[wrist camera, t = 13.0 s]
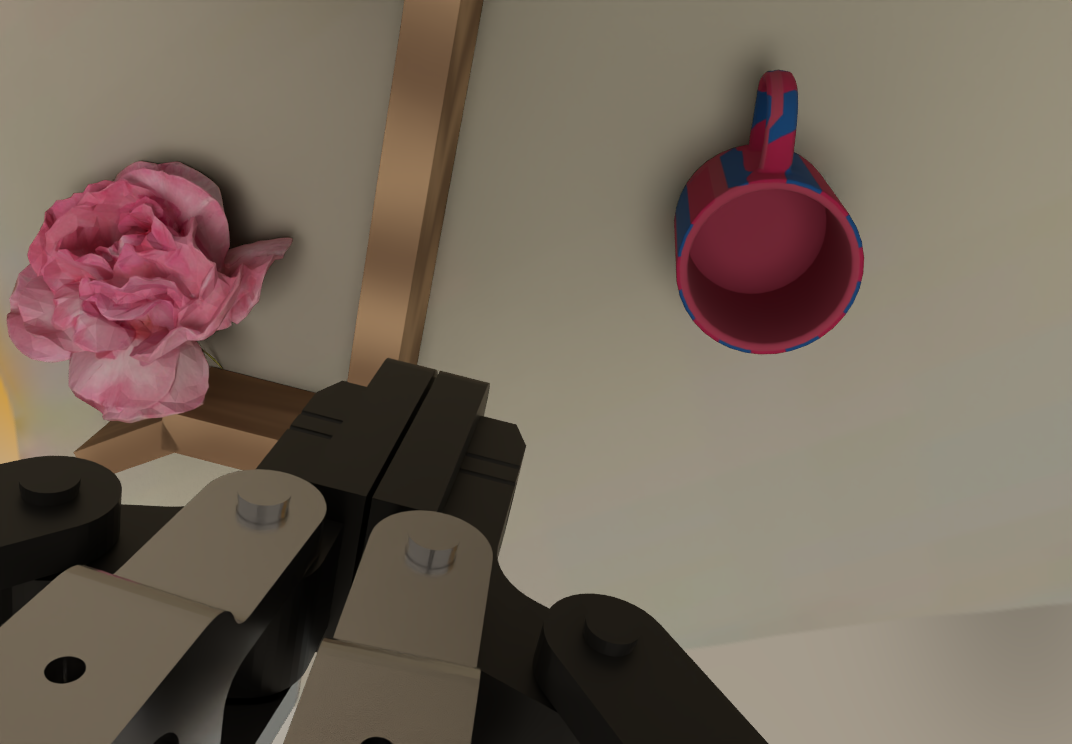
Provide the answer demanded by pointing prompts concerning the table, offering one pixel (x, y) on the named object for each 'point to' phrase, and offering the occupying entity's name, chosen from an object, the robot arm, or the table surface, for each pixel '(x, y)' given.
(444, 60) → the wooden slat frame
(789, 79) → the cup
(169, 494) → the table surface
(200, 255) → the flower
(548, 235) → the table surface
